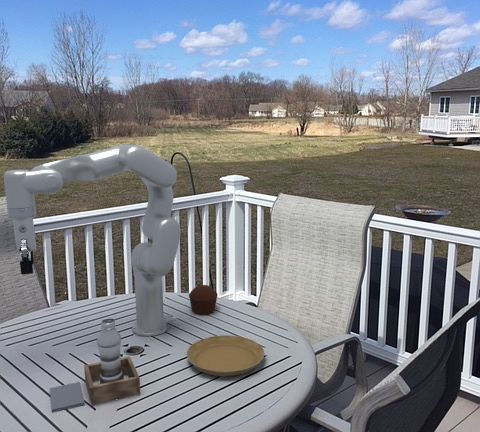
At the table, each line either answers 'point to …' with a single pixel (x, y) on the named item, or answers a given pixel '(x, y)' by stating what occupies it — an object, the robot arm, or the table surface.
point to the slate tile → (66, 396)
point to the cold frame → (112, 383)
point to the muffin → (203, 300)
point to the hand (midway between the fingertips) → (27, 268)
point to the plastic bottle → (109, 352)
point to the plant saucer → (225, 355)
